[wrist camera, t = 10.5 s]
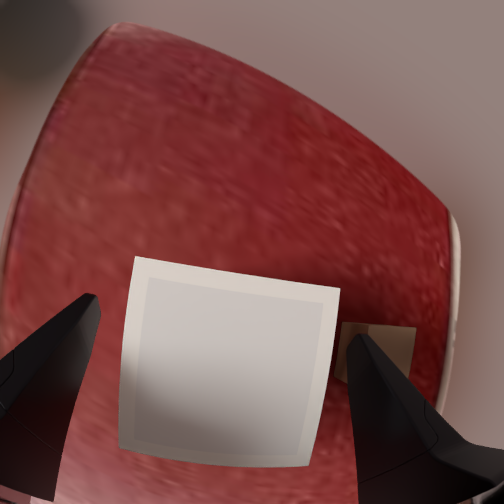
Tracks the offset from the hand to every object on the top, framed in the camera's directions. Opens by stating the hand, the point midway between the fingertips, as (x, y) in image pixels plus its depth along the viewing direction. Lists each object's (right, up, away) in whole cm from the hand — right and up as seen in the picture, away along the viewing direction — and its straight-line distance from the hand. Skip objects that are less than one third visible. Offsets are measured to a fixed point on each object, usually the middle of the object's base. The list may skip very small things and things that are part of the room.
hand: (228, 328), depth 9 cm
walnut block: (+8, -4, +9) cm, 13 cm away
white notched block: (-1, -3, +8) cm, 8 cm away
